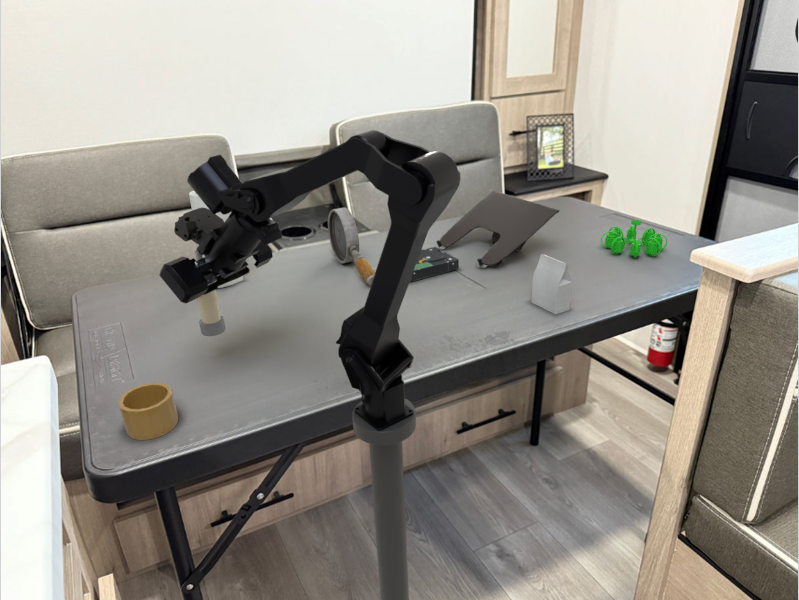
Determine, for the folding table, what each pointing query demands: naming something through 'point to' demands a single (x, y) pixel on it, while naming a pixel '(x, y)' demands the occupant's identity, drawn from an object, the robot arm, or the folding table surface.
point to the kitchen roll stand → (210, 312)
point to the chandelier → (634, 240)
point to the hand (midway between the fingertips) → (200, 290)
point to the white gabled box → (552, 285)
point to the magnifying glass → (347, 242)
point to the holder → (148, 411)
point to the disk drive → (433, 263)
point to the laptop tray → (500, 225)
